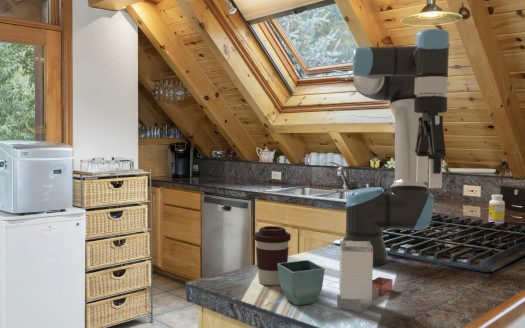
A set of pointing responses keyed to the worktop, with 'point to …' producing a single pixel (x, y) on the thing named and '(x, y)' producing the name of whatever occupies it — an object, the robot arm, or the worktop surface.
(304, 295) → the flower pot
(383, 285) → the tiny brick pile
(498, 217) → the supplement bottle
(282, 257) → the coffee cup
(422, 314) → the worktop surface
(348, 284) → the tall white upright block
